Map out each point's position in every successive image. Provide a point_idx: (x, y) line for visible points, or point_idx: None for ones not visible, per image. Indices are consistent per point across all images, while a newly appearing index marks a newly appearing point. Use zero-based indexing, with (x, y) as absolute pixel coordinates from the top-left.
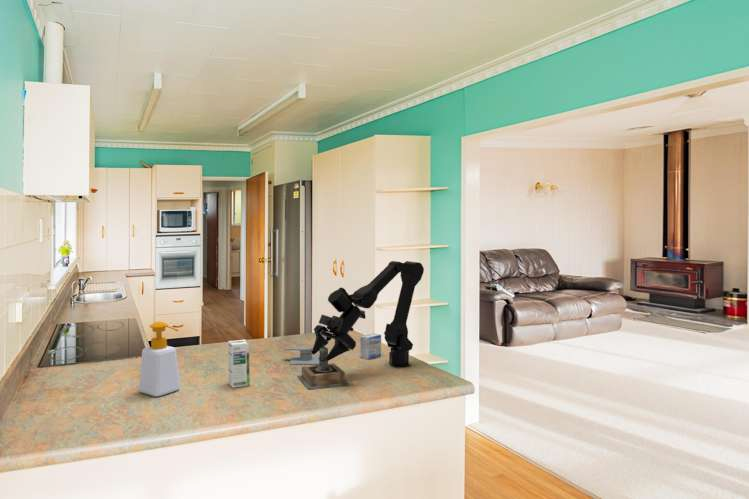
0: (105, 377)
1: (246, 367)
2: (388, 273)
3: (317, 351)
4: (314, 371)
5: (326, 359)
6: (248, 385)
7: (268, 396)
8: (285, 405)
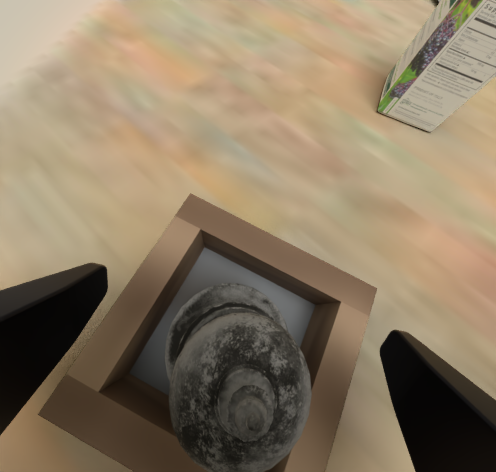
0: None
1: (432, 33)
2: None
3: (401, 419)
4: (312, 345)
5: (105, 271)
6: (378, 108)
7: (249, 84)
8: (144, 60)
